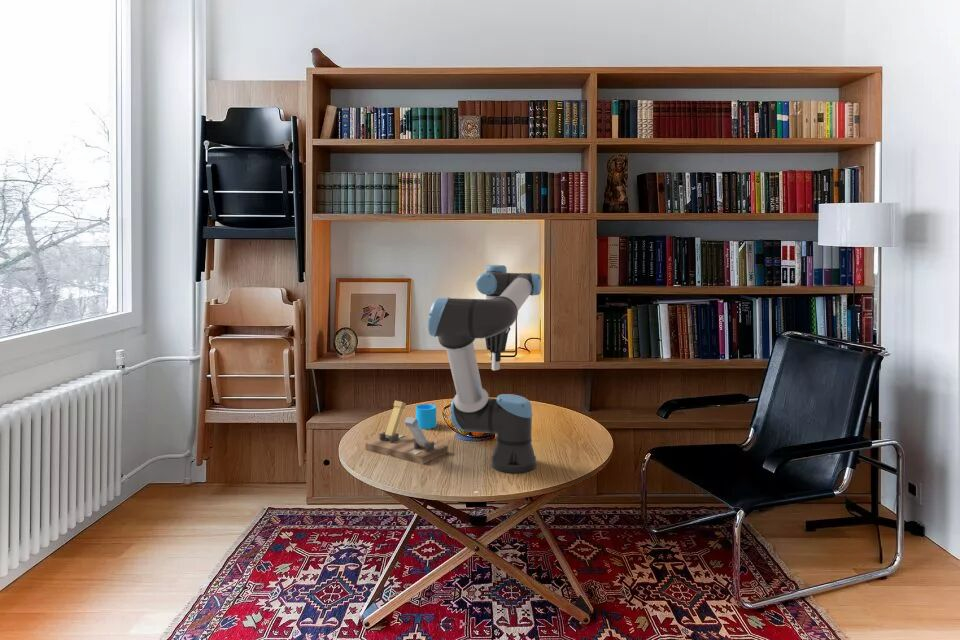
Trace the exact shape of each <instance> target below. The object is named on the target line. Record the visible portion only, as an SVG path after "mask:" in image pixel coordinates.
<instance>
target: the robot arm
mask: <svg viewBox="0 0 960 640" xmlns="http://www.w3.org/2000/svg"><path fill="white" fill-rule="evenodd" d="M507 271H508V270H507V267H506V265H502V264H488V265H487V266H486V270H485V272H483V273H482V274H479V275H478V277H477V278H476V281H475V286H476V289H477V291H478V292H479V293H481V294H482V295H485V299H484V298H450V297H449V296H448V297H438V298H436V299H434V301H433V303H432V304H431V306H430V309H429V314H428V321H427V329H428V334H429V335H430V336H431V337H434V338H436V337H437V338H438V342H439V344H440V346H442V347H443V348H444V349H445V351H446V355H447V358H448V359H447V360H448V363H449V367H450V372H451V375H452V379H453V380H452V381H453V385H454V388H455V393H456V394H455V395H454V397H453V398H452V401H451V404H450V409H449V412H450V415H449V416H450V421H451V424H452V425H453V427H454V428H456V430H458V431H464V432H465V433H466V432H472V433H481V434H482V433H483V434H484V433H485V434H494V435H495V434H496V442H495V446H494V449H493V452H492V453H493V454H492V455H491V458H490V459H491V460H490V462H491V463H490V464H491V467H492V468H493V469H494V470H497V471H499V472H502V473H511V474H520V473H526V472H530V471H533V470H534V469H536V467H537V457H536V456H535V452H534V447H533V445H532V434H533V433H532V431H533V430H532V427H533V425H532V424H533V423H532V422H533V421H532V420H533V412H532V410H533V409H532V402H531V401H530V400H529V399H527V398H526V397H524V396H522V395H517V394H511V393H508V394H507V393H506V394H505V393H502V394H498V395H497V397H496V398H490V397H489V393H488V392H487V390H486V389H485V388H483V386H482V381H481V376H480V371H479V366H478V365H479V364H478V360H477V356H476V351H475V347H474V341H475V340H476V339H485V346H486V350H487V351H490V361H491V371H498V370H500V367H501V365H500V363H501V361H502V358H501V357H502V356H501V355H502V353H504V352H505V351H506V347H507V342H508V337H509V333H510V330H511V326H512V325H514V323H515V322H516V320H517V319H518V317H519V316H518V315H519V311H520V309H521V308H522V306H523V305H524V303H525V302H526V301H527V299H528V298H529V296H539V295H540V294H541V291H542V286H543V285H542V282H543V281H542V277H541V275H540V274H539V273H533V272H529V273H528V272H526V273H525V272H523V273H522V272H507Z"/></svg>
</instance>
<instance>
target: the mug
mask: <svg viewBox="0 0 960 640" xmlns="http://www.w3.org/2000/svg"><path fill="white" fill-rule="evenodd" d="M415 418H416V419H417V421H418V423H417V424H418V425H419V427H420V428H421V430H422V429H429V430H431V429H430V428H434V427H437V406H436V405H435V404H431V403H430V404H429V403H424V404H418V405H416V406H415ZM434 429H435V428H434Z"/></svg>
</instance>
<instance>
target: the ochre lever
mask: <svg viewBox="0 0 960 640" xmlns="http://www.w3.org/2000/svg"><path fill="white" fill-rule="evenodd" d="M406 406H407V403H406V402H403V401H401V400H394V402H393V408H392V409H393V410H392V412H391V415H390V418H389V421H388V424H387V426H386V431H385V432H386V433H385V438H387V439H390V436H392V435H394V434H397V430H398V427H399V423H400V421H401V417H402V415H403V411H404V410H405V409H406Z"/></svg>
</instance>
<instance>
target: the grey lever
mask: <svg viewBox="0 0 960 640" xmlns="http://www.w3.org/2000/svg"><path fill="white" fill-rule="evenodd" d="M403 423H404V424H405V426H406V427H408V429H409V431H410V432H411V434H412V436H413V438H415V439H416V441H417V443H418V445H419V446H421V447H425V444H427V443H428V442H427V441H428V439H427V438H426V436H425V435H424V433H423V431H422V429H420V427H419V425H418V424H417V423H418V421H417V419H416V417H411V416H407V417H406V419H404V421H403Z"/></svg>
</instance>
